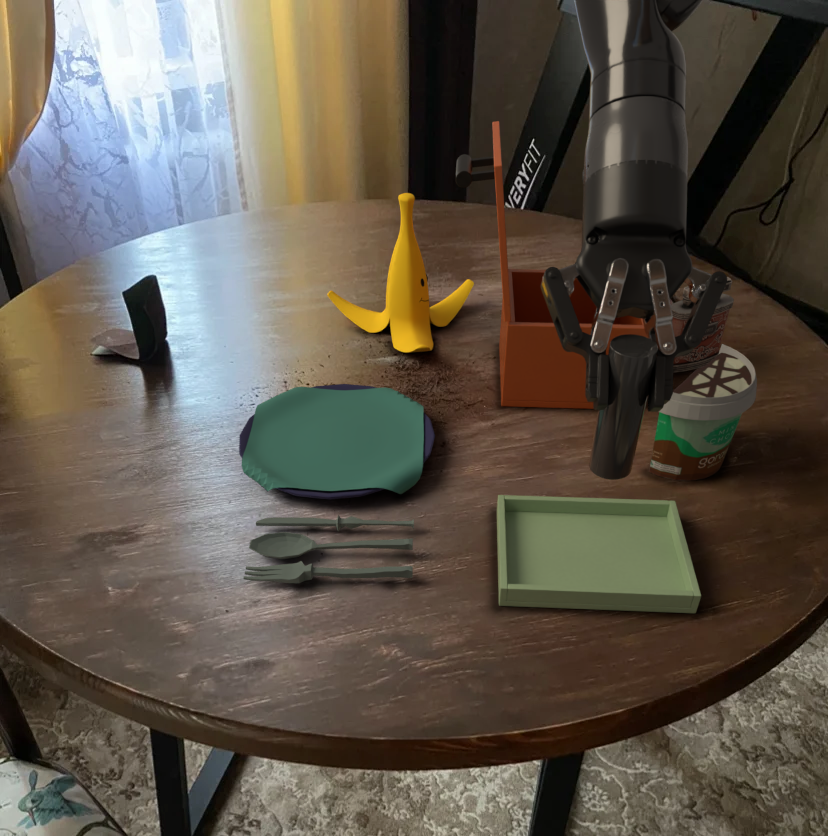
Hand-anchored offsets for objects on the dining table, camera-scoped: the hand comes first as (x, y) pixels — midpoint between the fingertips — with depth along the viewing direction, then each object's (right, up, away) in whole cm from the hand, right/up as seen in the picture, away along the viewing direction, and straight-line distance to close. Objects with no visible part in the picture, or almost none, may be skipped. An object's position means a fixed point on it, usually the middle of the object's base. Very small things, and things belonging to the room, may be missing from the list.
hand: (628, 407), depth 62 cm
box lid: (-6, +23, +24) cm, 34 cm away
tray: (0, -11, +12) cm, 17 cm away
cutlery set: (-24, -4, +21) cm, 32 cm away
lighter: (+17, +11, +38) cm, 43 cm away
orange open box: (+2, +9, +35) cm, 37 cm away
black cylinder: (0, -4, +6) cm, 7 cm away
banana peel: (-19, +17, +45) cm, 51 cm away
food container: (+13, -2, +23) cm, 26 cm away
